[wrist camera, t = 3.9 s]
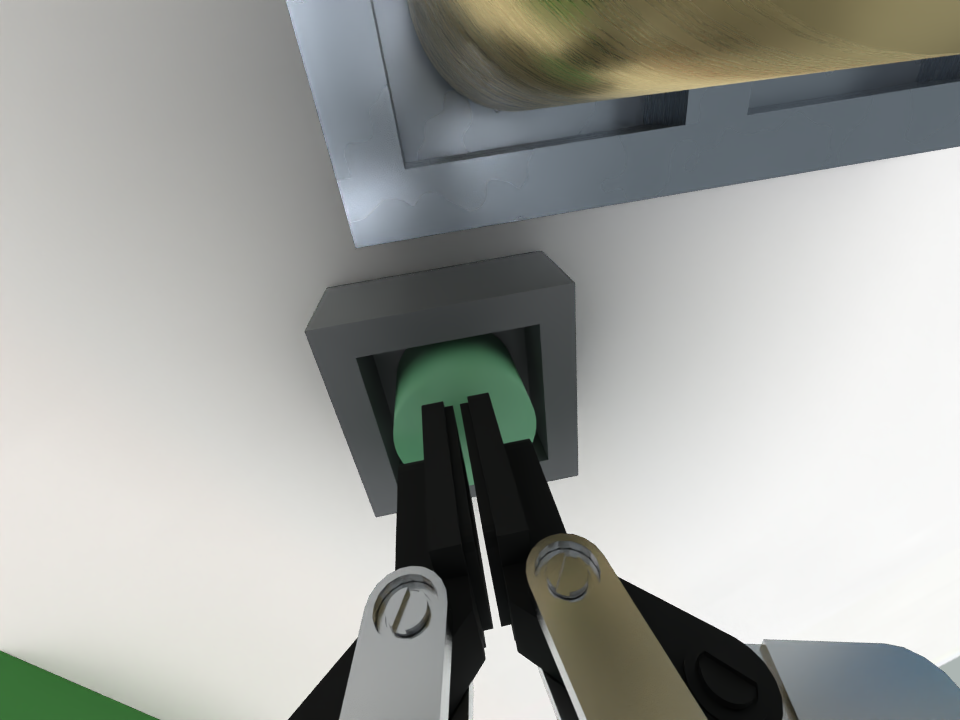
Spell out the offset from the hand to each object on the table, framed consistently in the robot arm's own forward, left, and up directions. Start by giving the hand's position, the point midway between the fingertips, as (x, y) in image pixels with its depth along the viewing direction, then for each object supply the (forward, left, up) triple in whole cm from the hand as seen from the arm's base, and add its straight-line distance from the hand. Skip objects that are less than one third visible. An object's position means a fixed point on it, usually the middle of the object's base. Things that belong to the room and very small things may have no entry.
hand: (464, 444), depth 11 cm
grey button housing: (0, 0, -5) cm, 5 cm away
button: (0, 0, -4) cm, 4 cm away
